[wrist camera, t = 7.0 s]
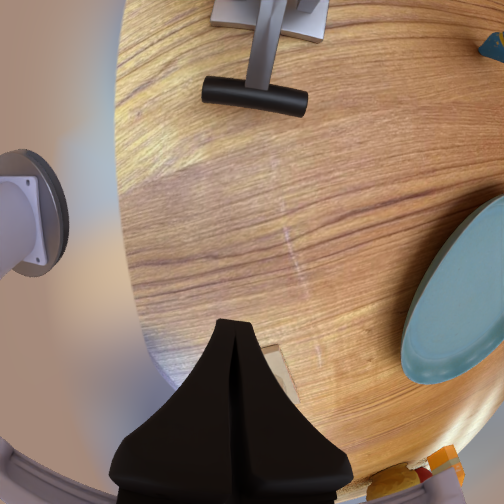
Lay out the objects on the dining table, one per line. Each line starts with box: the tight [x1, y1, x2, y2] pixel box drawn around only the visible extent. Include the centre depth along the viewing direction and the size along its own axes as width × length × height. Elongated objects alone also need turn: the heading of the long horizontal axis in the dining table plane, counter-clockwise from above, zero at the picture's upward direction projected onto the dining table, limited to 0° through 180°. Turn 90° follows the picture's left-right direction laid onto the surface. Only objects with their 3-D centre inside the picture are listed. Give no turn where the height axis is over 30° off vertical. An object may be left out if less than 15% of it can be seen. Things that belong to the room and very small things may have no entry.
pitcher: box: [366, 463, 420, 501], centre depth 44 cm, size 17×19×25 cm
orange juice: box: [427, 445, 465, 486], centre depth 46 cm, size 8×9×20 cm
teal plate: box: [401, 194, 504, 384], centre depth 21 cm, size 24×24×3 cm
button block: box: [261, 344, 301, 404], centre depth 25 cm, size 10×8×2 cm
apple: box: [415, 467, 433, 483], centre depth 58 cm, size 11×11×12 cm
